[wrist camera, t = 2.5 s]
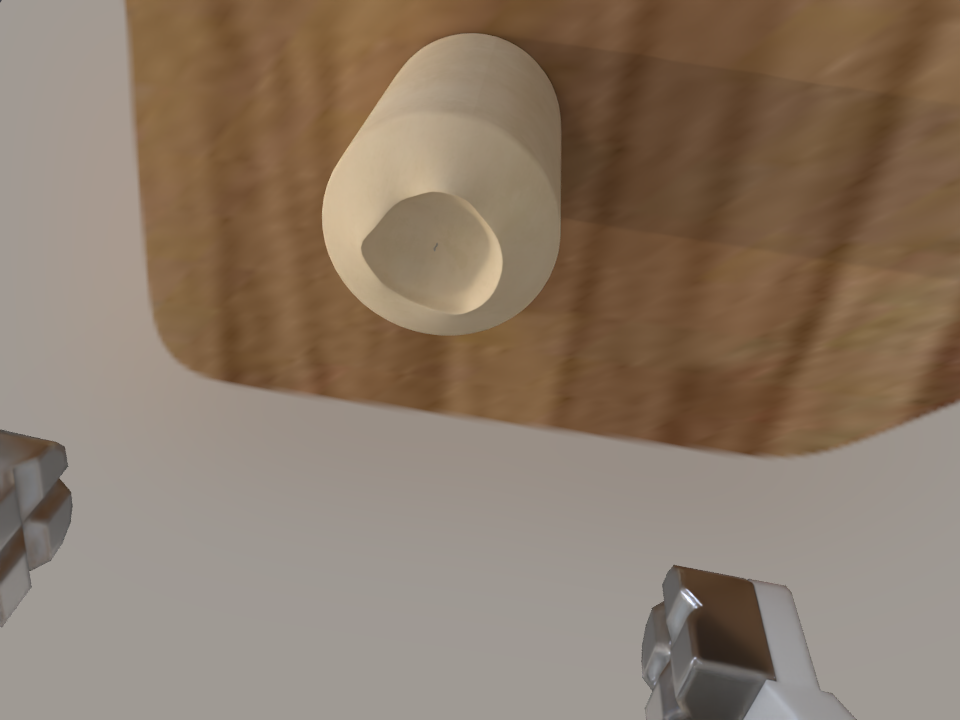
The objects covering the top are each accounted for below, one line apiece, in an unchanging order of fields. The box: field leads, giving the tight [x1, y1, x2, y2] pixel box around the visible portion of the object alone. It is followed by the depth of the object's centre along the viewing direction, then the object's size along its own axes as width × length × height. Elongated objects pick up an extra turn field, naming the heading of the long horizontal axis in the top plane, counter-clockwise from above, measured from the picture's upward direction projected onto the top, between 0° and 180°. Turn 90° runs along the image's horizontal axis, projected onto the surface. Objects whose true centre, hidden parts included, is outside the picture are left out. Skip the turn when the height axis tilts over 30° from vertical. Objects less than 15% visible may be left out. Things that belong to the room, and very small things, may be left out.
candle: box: [322, 33, 561, 335], centre depth 22 cm, size 6×6×10 cm
